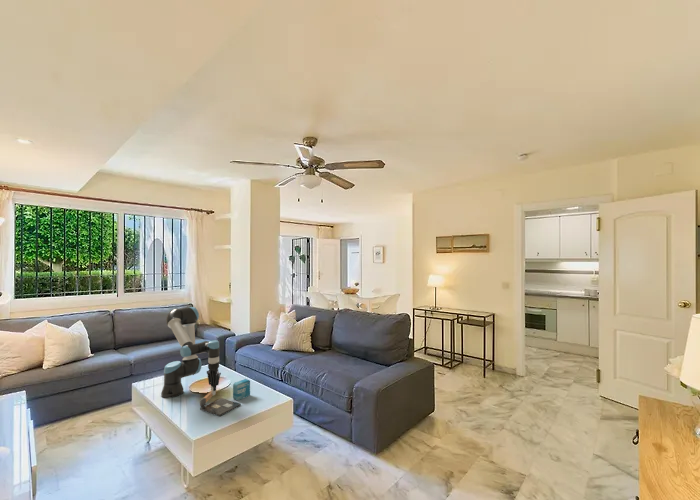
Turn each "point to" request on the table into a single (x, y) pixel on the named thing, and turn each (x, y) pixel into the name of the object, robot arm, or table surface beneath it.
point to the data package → (241, 389)
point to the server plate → (220, 407)
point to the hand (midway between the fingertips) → (213, 394)
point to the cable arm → (205, 399)
